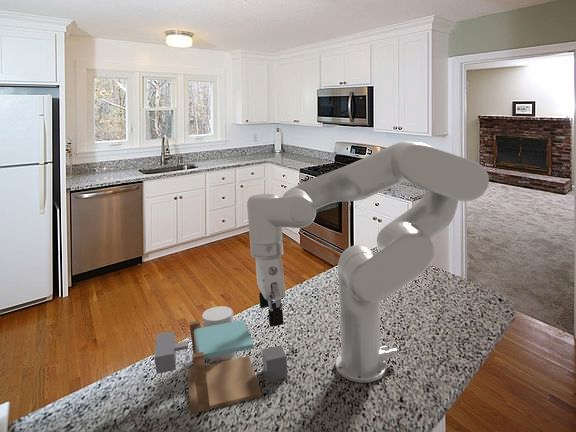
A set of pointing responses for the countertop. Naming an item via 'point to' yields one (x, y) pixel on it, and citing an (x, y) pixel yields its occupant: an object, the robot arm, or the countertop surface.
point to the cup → (215, 318)
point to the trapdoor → (203, 343)
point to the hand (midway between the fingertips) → (271, 315)
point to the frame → (219, 380)
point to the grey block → (274, 363)
